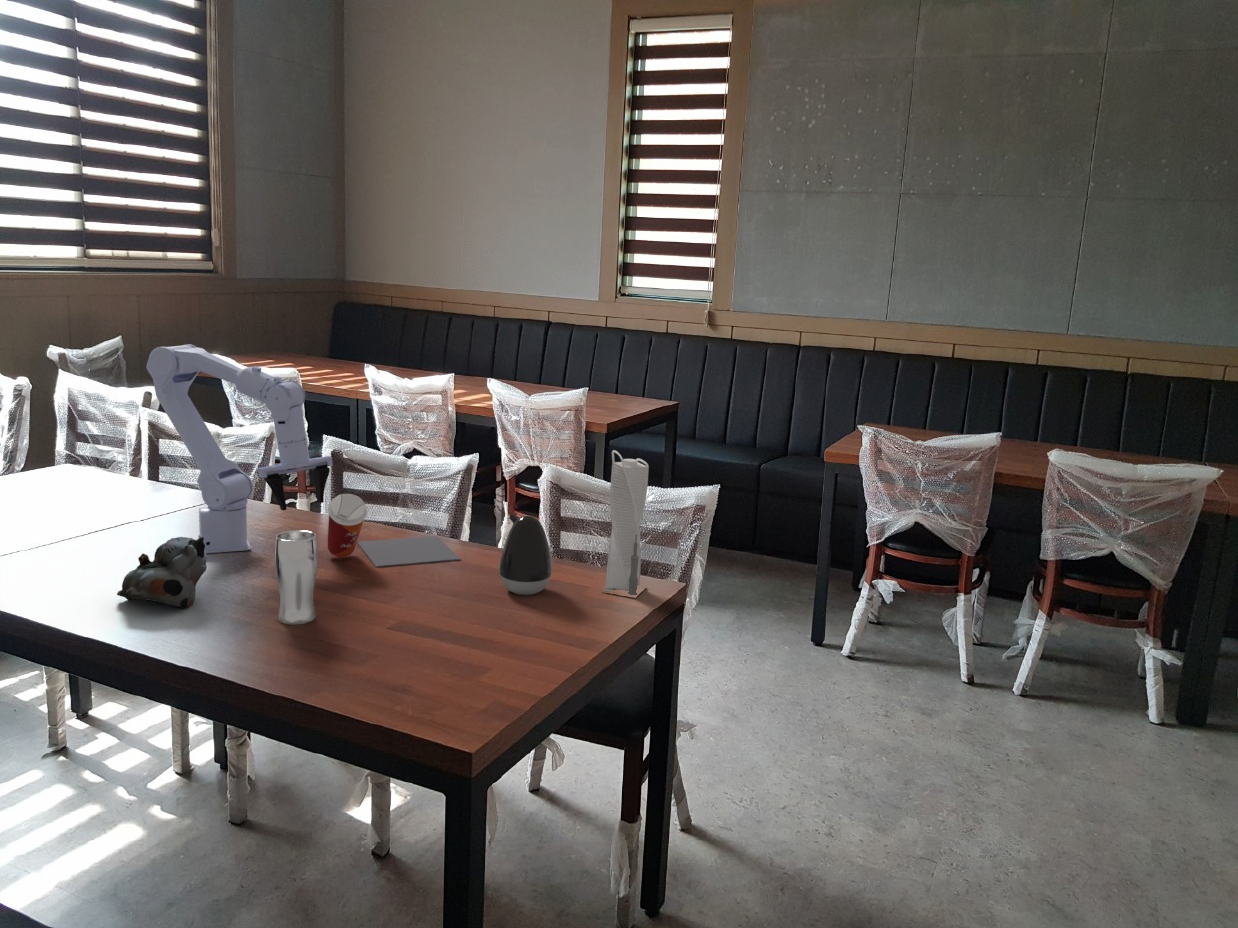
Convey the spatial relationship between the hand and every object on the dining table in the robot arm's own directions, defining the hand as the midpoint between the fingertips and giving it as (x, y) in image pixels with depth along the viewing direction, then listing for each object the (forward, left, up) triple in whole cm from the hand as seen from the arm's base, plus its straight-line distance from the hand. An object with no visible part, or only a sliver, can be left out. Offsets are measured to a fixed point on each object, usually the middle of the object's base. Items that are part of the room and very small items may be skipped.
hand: (302, 505), depth 195 cm
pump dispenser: (+37, -33, -11) cm, 51 cm away
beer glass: (-6, -35, -11) cm, 38 cm away
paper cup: (+8, -1, -9) cm, 12 cm away
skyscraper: (+56, -38, -11) cm, 69 cm away
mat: (+22, -2, -11) cm, 24 cm away
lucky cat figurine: (-27, -20, -11) cm, 35 cm away
